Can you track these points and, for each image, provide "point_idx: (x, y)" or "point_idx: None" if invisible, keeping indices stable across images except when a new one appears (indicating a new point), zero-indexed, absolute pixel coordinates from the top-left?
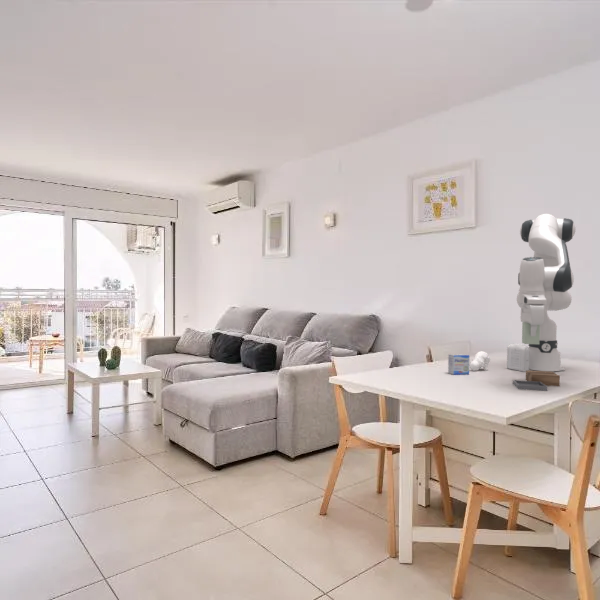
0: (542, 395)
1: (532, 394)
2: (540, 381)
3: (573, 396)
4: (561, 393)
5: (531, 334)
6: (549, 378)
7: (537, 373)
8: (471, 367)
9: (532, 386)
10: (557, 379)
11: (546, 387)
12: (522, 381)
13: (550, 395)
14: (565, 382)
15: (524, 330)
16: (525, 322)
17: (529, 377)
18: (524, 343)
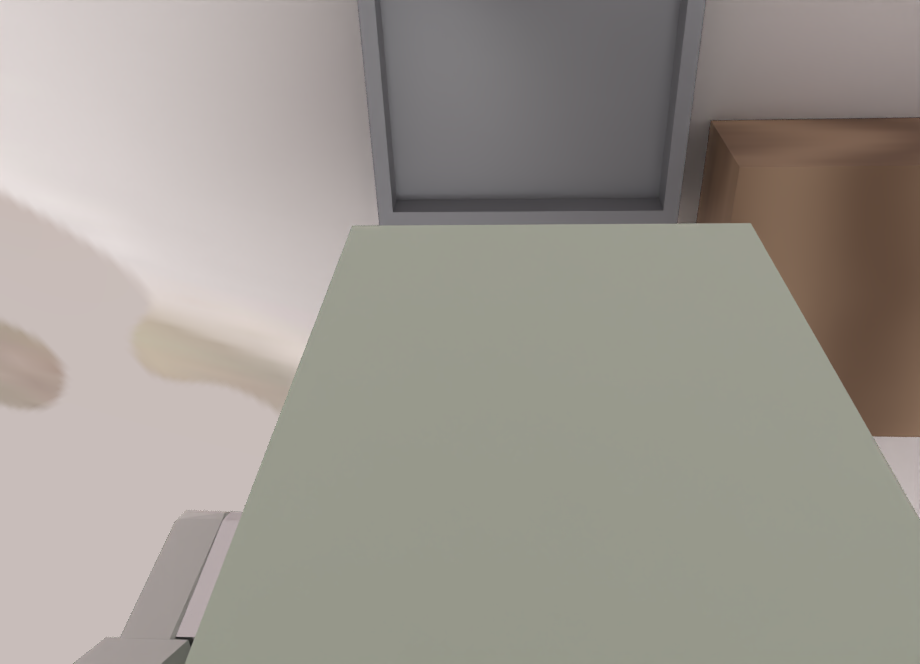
0: (111, 104)
1: (104, 7)
2: None
3: (220, 353)
4: (310, 297)
5: (171, 554)
6: None
7: (830, 254)
8: None
9: (365, 73)
10: None
11: (379, 212)
12: (685, 15)
13: (156, 181)
14: (888, 459)
15: (381, 518)
16: None
17: (840, 143)
18: (404, 228)
